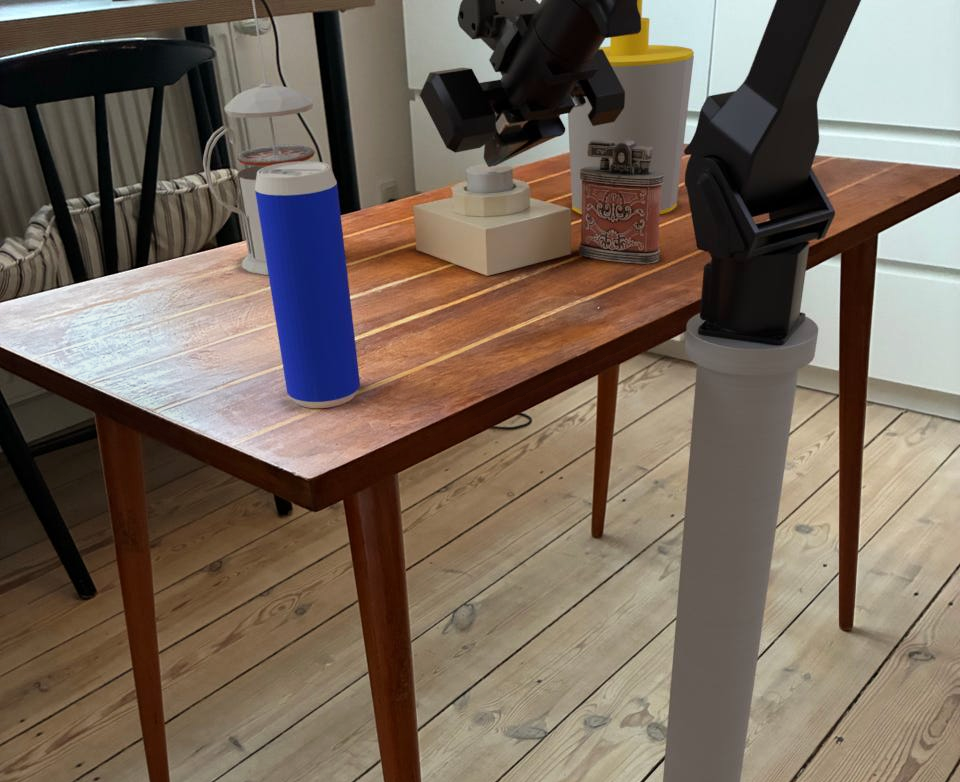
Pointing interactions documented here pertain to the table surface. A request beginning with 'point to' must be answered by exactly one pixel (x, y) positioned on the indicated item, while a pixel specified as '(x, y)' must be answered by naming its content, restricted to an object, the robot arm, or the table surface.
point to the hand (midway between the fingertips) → (489, 162)
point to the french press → (259, 154)
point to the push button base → (493, 229)
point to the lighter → (620, 204)
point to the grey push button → (489, 178)
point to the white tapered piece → (640, 110)
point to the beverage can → (308, 281)
